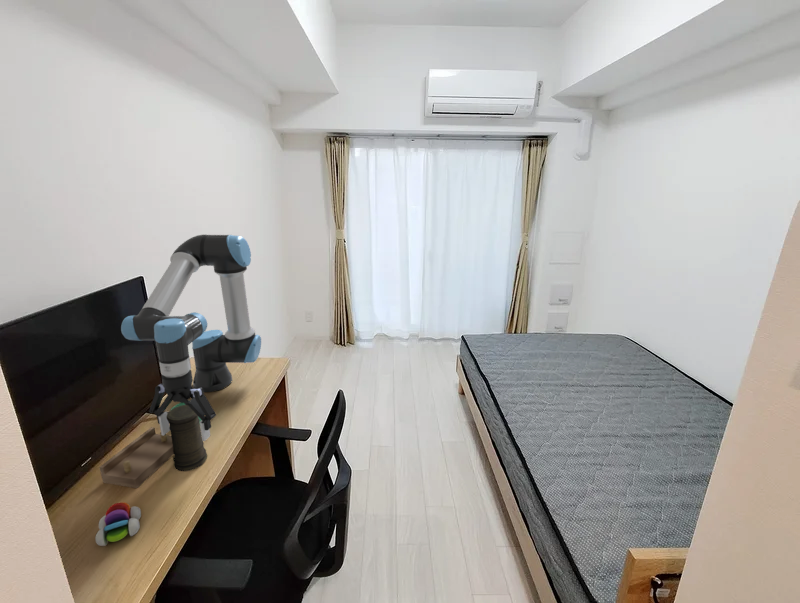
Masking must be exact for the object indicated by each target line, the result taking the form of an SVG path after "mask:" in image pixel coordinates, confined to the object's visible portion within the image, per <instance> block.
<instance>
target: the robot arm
mask: <svg viewBox="0 0 800 603" xmlns="http://www.w3.org/2000/svg"><path fill="white" fill-rule="evenodd" d="M251 253H252V252H251V248H250V245H249V243H248V241H247V240H246V239H245V237H243V236H241V235H232V234H198V235H195V236H193V237H190V238H189V239H187V240H185V241H183V243H181V244H180V245H179V246H177V248H176V249H175V250H174V251H173V253H172V255H171V256H170V263H169V265H168V267H167V268H166V270H165V271H164V273H163V274H162V277H161V278H160V279H159V281H158V283H157V284H156V286H155V287H154V289H153V290H152V292H151V294H150V296H149V297H148V298H147V300H146V302H145V303H144V305H143V306H142V308H141V310H140V311H139V313H138V314H137V315H136V314H133V315H128V316H126V317H125V318H124V319H123V320H122V322H121V326H120V331H121V334H122V336H123V337H124V338H125V339H126V340H129V341H137V342H138V341H140V342H142V341H143V342H144V341H155V346H156V350H157V355H158V363H159V367H160V368H159V370H160V373H161V382H162V383H160V384H158V385H157V386H155V388H154V396H153V398H152V402H151V405H150V407H149V410H148V412H149V413H150V414H154V415H155V416H156V420H157V424H158V425H159V428H160V433H161V435H163V436H164V435H165V434H166V435H167V434H168V433H169V432H170V429H169V427H170V424H169V422H168V420H167V414H168V411H166V410H167V408H169V405H170V404H171V403H172V402H174V403H184V404H185V405H188V406H189V407H190V408H191V409H192V410H193V411H194V412H195V413H196V414H197V415H198V417H199V418H200V419H201V421H200V429H201V435H202V441H203V442H205V441H206V440H208V438H210V437H211V428H212V423H211V422H212V420H213V419H214V418H215V417H216V416H217V413H216V412H215V410H214V409H213V406H212V405H211V403H210V401H209V399H208V398H207V396H206V395H205V393H212V392H217V391H220V390H223V389H225V388H227V387H228V386H230V385H231V384H232V382H233V374H232V373H231V372H230V370H229V367H228V366H227V363H228V364H229V363H230V364H232V363H233V364H235V363H236V364H237V363H238V364H239V363H241V364H247V363H248V364H249V363H254V362H256V361H257V359H258V358H259V355H260V353H261V349H262V348H261V347H262V337H261V335H259V334H256V331H255V330H256V329H255V328H254V327H252V326H251V321H250V316H249V314H250V313H249V308H248V307H249V306H248V305H249V304H248V298H247V292H246V291H247V290H246V284H245V276H244V273H245V272H246V271H247V270H248V268H247V267H249V265H250V264H251V261H252V259H251V257H252V254H251ZM205 266H210V267H211V266H212V267H213V272H214V273H215V274H216V275H218V276H219V281H220V288H221V293H222V294H221V295H222V300H223V307H224V313H225V318H226V320H225V321H226V325H227V330H226V332H225V333H224V332H223V331H222V330H220V329H210V330H207V329H208V321H207V319H206V318H205V316H204V315H203V314H201V313H198V312H190V313H186V314H185V315H183V316H182V315H181V316H180V315H170V314H171V312H172V311H173V309H174V308H175V305H176V304H177V302H178V300H179V299H180V296H181V294H182V293H183V291H184V289H185V288H186V286H187V285H188V282H189V281H190V280H191V279H190V278H191V277H192V275H193V274H194V273H196V272H197V271H198V270H199V268H200V267H205ZM190 344H191V345H192V348H191V349H192V352H193V357H194V358H193V359H194V366H195V372H194V377H193V373H192V370H191V369H192V365H191V360H190V352H189V351H190V350H189V345H190ZM231 381H232V382H231ZM230 383H231V384H230ZM229 384H230V385H229ZM227 385H228V386H227ZM226 386H227V387H226ZM224 387H225V388H224ZM165 393H166V395H167V396H165V399H164V400H163V398H164V394H165ZM162 400H163V402H162ZM189 400H190V401H189Z"/></svg>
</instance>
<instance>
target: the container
mask: <svg viewBox="0 0 800 603" xmlns="http://www.w3.org/2000/svg"><path fill="white" fill-rule="evenodd" d="M171 409H172V408H171ZM171 409H170V410H169V411H167V413H168V414H167V420H168V422H169V425H170V427H169V429H170V431H169V432H170V436H171V438H172V444H173V453H174V454H173V456H174V457H173V467H174V469H175V470H177V471H178V472H189V471H192V470H195V469H197V468H200V467H201V466H203V464H205V462H206V461H207V459H208V454H207V449H205V442H204V441H202V434H201V427H200V420H199V418H198V415H197V414H196V413H195V412H194V411H193V410H192V409H191V408H190V407H189V406H188V405H181V406H178V407H176V408H174V409H172V410H171Z"/></svg>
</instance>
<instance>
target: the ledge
mask: <svg viewBox="0 0 800 603" xmlns="http://www.w3.org/2000/svg"><path fill="white" fill-rule="evenodd" d="M172 456H174V453H173V444H172V438H171V435H167V433H166V434H165V435H164V436H163V435H161V432H160V433H156V427H155V426H151V427H149V428H148V429H147V430H146V431H145V432H143V433H142V434H140V435H139V436H138V437H137V438H135V439H134V440H133V441H131V442H130V443H129V444H127V445H126V446H125V447H124V448H122V449H121V450H119V451H118V452H117V453H115V455H113V456H112V457H111V458H109V459H108V460H107V461H106V462H104V463H102V464H101V465H100V466H99V471H100V475H101V476H100V477H101V479H102V483H103V484H110V485H116V486H123V487H127V488H134V489H138V488H139V487H140V486H141V485H142V484H143V483H145V482H146V481H147V480H148V479H149V478H150V477H151V476H152V475H153V474H154V473H155V472H156V471H157V470H159V468H161V467H162V466H163V465H164V464H165V463H166V462H167V461H168V460H169V459H170V458H172Z"/></svg>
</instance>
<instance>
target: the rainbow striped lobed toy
mask: <svg viewBox="0 0 800 603" xmlns="http://www.w3.org/2000/svg"><path fill="white" fill-rule="evenodd" d="M141 516H142V510H141V508H140V507H139V506H135V505H134V506H130V504H129V503H128V502H124V501H120V502H116V503H113V504H112V505H110V506H109V508H107V510H106V512H105V515H104V516H101V518H100V519H99V522H98V529H99V530H98V531H97V533H96V535H95V543H96V544H97V546H101V547H105V546H107V545H108V543H109V542H112V543H113V542H114V543H115V542H118V541H120V540H122V539H124V538H125V537H126V536H127V535H128V534H129V536H130V537H133V536H135V535H136V534H137V533H138V531H139V530H140V518H142V517H141Z"/></svg>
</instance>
